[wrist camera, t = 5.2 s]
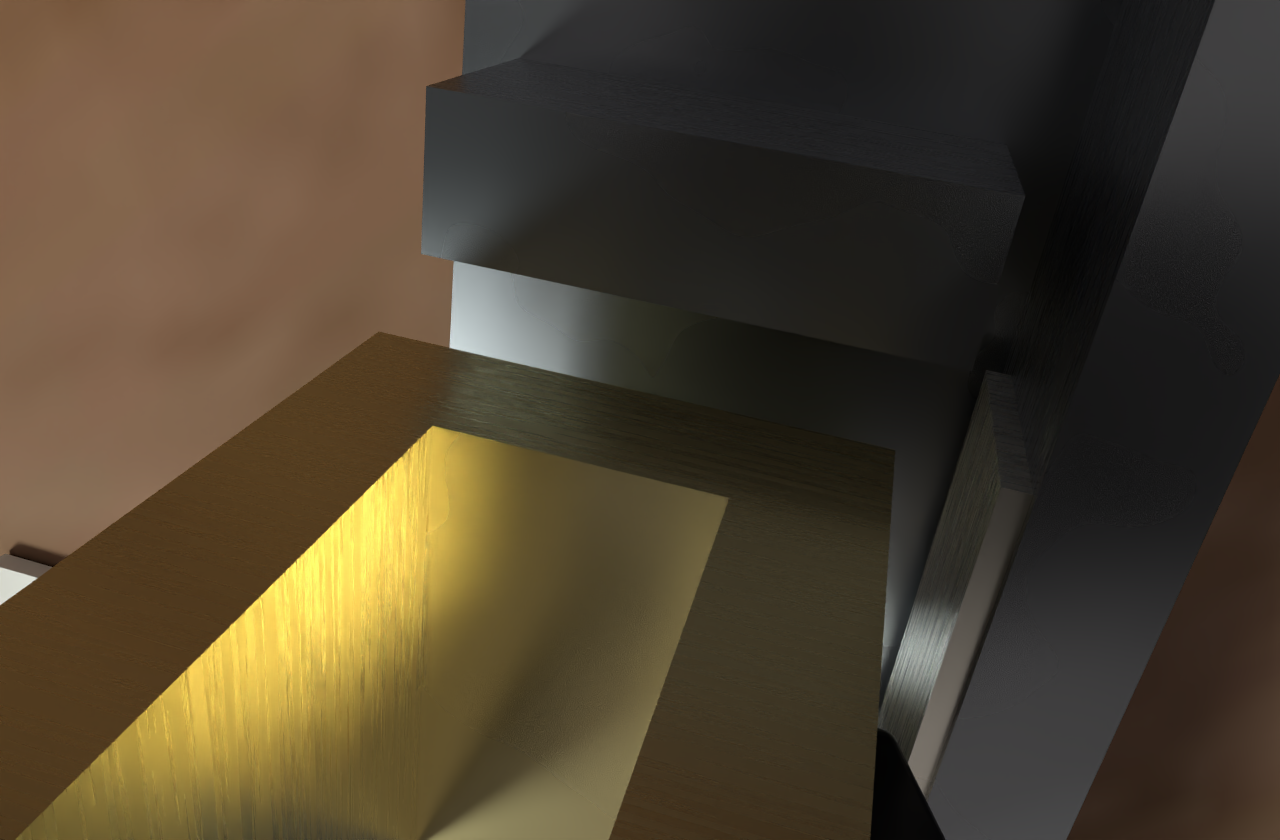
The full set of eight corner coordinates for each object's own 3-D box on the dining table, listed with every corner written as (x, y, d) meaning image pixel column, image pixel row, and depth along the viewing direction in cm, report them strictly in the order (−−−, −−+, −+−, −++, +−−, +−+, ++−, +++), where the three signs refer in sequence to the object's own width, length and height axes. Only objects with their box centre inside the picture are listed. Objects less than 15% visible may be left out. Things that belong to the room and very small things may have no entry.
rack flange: (797, 1151, 17) (757, 1515, 13) (462, 1035, 18) (333, 1341, 14) (1302, -267, 8) (1663, -465, 4) (571, -345, 9) (290, -561, 5)
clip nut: (786, 839, 9) (655, 1684, 5) (373, 717, 10) (-79, 1355, 5) (895, 449, 7) (844, 1229, 3) (378, 331, 8) (-301, 823, 4)
